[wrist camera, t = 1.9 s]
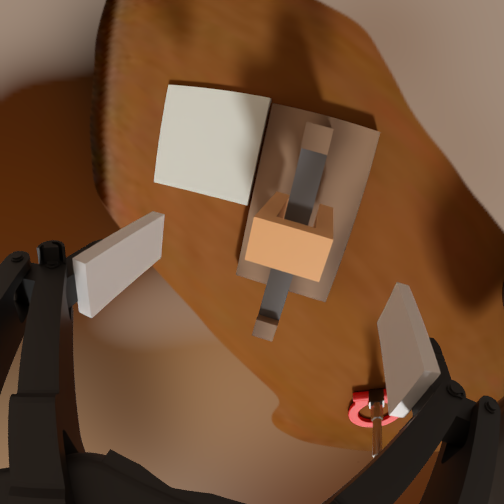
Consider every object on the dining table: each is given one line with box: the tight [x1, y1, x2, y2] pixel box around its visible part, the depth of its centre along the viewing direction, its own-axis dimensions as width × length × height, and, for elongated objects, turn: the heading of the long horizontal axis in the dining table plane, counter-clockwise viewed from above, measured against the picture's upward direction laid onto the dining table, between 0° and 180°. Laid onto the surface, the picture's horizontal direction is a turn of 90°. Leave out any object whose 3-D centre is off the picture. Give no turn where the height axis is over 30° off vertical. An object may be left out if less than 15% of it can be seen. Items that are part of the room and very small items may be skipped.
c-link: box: [245, 192, 333, 282], centre depth 22 cm, size 5×3×8 cm, turn 78°
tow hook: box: [348, 388, 398, 458], centre depth 32 cm, size 8×13×9 cm
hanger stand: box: [236, 103, 380, 341], centre depth 24 cm, size 10×18×12 cm, turn 168°
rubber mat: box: [154, 85, 271, 205], centre depth 29 cm, size 11×11×1 cm
